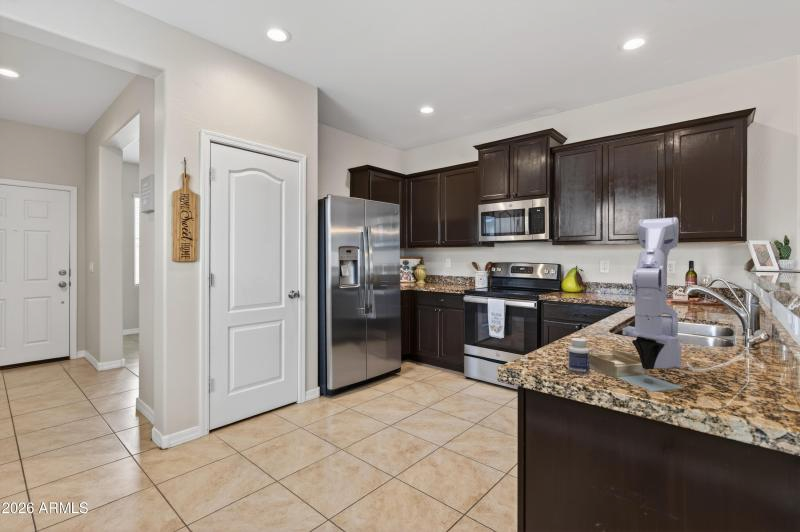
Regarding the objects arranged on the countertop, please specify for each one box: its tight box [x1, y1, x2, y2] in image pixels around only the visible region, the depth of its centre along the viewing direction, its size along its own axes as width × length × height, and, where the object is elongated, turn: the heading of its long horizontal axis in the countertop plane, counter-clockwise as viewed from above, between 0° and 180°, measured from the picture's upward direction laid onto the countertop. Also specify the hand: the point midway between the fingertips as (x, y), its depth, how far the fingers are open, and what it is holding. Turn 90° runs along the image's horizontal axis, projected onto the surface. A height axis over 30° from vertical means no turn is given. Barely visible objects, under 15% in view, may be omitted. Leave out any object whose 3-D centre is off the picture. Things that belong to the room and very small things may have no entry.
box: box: [590, 349, 649, 379], centre depth 109 cm, size 11×12×5 cm
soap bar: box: [612, 360, 625, 365], centre depth 109 cm, size 5×3×2 cm, turn 102°
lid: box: [616, 374, 685, 392], centre depth 97 cm, size 9×11×2 cm
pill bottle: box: [567, 337, 591, 375], centre depth 107 cm, size 5×5×10 cm
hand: (648, 368), depth 97 cm, fingers closed
